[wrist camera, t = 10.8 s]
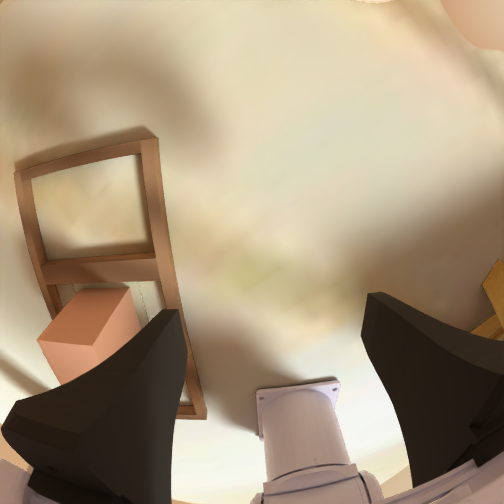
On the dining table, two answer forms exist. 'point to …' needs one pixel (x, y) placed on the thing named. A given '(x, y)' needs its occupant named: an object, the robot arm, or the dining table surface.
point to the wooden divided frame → (114, 266)
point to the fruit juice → (373, 1)
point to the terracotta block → (89, 331)
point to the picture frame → (494, 304)
